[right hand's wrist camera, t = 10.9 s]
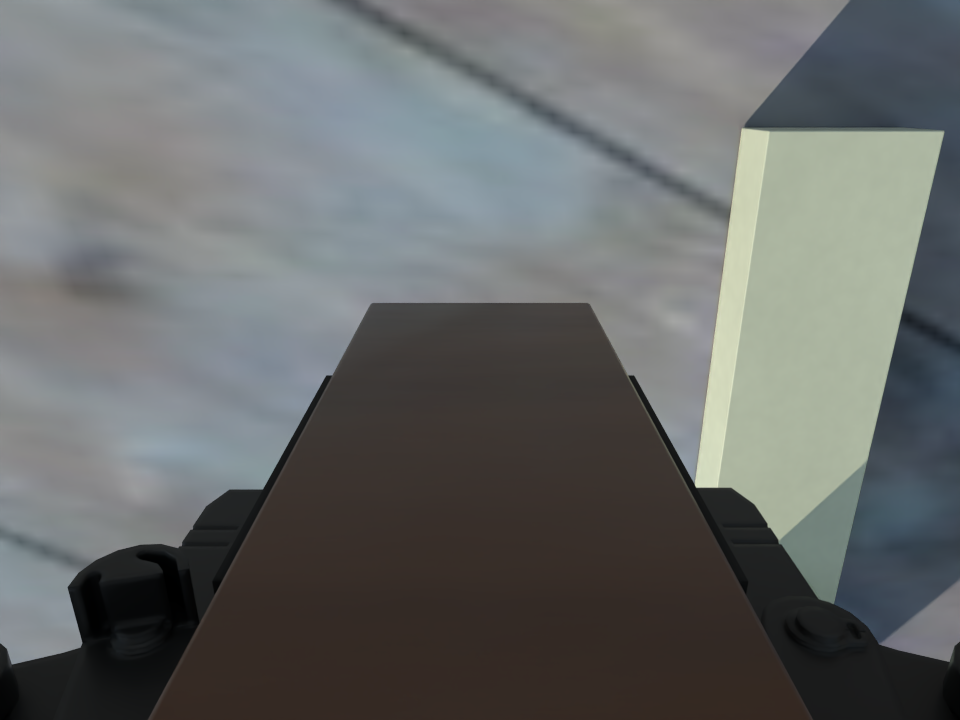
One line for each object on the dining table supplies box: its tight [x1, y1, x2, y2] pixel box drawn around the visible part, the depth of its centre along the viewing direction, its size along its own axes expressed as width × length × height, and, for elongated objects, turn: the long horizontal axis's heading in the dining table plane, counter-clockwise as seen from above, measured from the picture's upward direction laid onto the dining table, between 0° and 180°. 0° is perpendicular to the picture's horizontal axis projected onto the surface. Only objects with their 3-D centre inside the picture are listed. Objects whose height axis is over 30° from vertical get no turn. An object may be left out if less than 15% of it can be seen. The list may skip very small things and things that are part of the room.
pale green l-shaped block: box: [695, 127, 945, 604], centre depth 29 cm, size 26×7×11 cm, turn 0°
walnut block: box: [148, 303, 813, 720], centre depth 11 cm, size 5×5×12 cm
